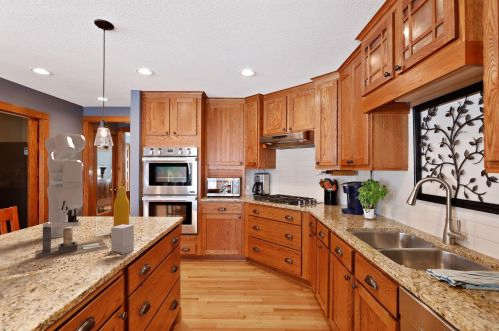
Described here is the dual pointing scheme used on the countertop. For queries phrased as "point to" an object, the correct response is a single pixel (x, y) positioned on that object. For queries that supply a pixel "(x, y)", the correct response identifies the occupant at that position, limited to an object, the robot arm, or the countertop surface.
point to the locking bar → (62, 224)
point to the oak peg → (67, 236)
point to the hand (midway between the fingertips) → (72, 223)
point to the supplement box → (122, 238)
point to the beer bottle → (121, 208)
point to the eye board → (65, 248)
